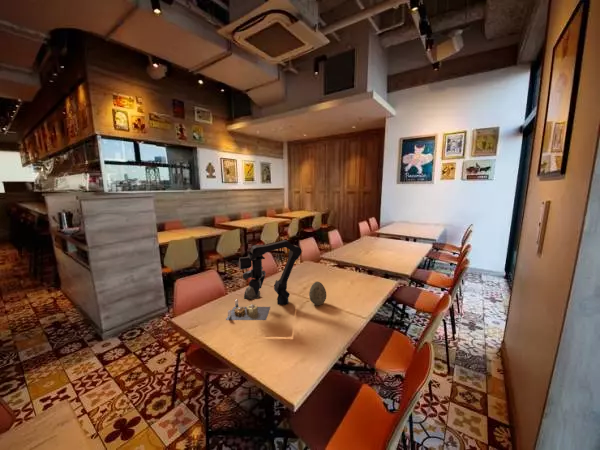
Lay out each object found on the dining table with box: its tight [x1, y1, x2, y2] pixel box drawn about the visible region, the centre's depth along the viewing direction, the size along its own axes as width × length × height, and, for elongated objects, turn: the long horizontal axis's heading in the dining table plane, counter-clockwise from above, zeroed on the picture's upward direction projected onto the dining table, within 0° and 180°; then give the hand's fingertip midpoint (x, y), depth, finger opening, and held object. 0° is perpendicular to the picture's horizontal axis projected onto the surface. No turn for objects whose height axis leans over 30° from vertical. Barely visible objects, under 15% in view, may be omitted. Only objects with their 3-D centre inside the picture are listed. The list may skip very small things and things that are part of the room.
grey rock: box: [243, 285, 261, 300], centre depth 164 cm, size 11×9×10 cm
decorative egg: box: [308, 281, 327, 306], centre depth 151 cm, size 11×11×15 cm
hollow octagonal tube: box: [246, 304, 259, 316], centre depth 141 cm, size 6×6×4 cm
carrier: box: [225, 298, 271, 321], centre depth 141 cm, size 23×15×6 cm, turn 87°
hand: (258, 291), depth 145 cm, fingers open, 9 cm apart
